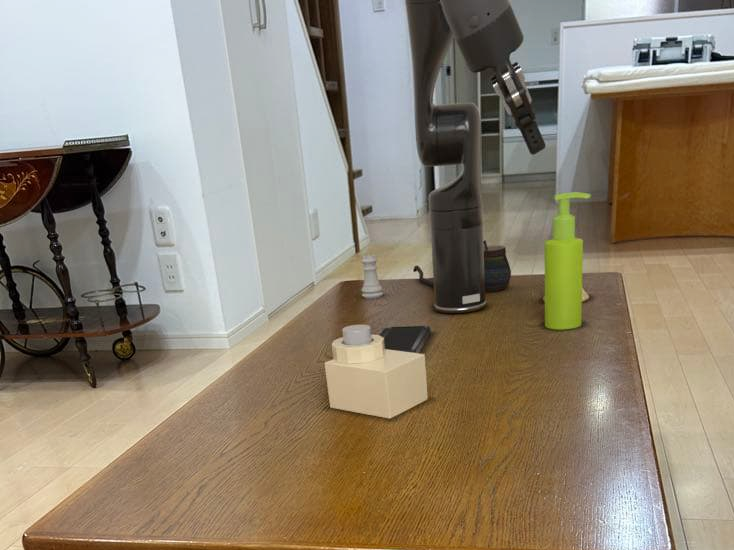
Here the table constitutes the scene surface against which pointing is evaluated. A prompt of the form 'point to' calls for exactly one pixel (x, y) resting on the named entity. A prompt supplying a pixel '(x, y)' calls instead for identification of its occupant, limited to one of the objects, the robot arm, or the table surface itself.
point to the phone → (405, 338)
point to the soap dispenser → (564, 269)
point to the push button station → (375, 378)
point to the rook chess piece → (370, 278)
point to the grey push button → (357, 335)
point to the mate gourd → (496, 268)
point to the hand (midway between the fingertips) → (538, 149)
